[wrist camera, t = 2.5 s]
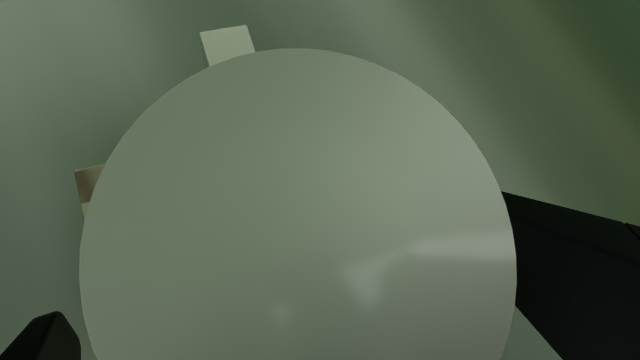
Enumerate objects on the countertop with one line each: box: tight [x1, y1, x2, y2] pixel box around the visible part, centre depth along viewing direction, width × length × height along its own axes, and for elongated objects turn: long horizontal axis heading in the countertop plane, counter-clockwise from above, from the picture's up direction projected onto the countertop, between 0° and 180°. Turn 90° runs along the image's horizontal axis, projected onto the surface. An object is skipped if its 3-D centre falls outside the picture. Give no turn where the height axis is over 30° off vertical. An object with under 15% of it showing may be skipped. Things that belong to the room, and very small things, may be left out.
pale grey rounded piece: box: [79, 25, 517, 360], centre depth 11 cm, size 8×5×12 cm
